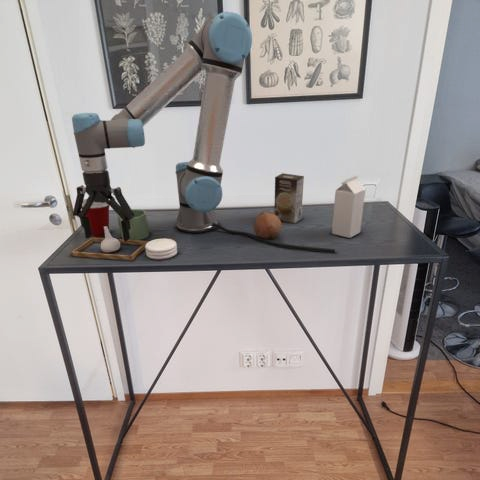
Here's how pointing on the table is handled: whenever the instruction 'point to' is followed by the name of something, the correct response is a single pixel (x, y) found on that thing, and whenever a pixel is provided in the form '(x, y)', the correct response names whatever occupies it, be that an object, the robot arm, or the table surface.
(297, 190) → the coffee box
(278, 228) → the onion
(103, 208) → the plastic cup
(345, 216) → the milk carton
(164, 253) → the coaster
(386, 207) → the table surface
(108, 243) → the garlic bulb
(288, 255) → the table surface
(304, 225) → the table surface
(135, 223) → the cup
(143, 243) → the frame
